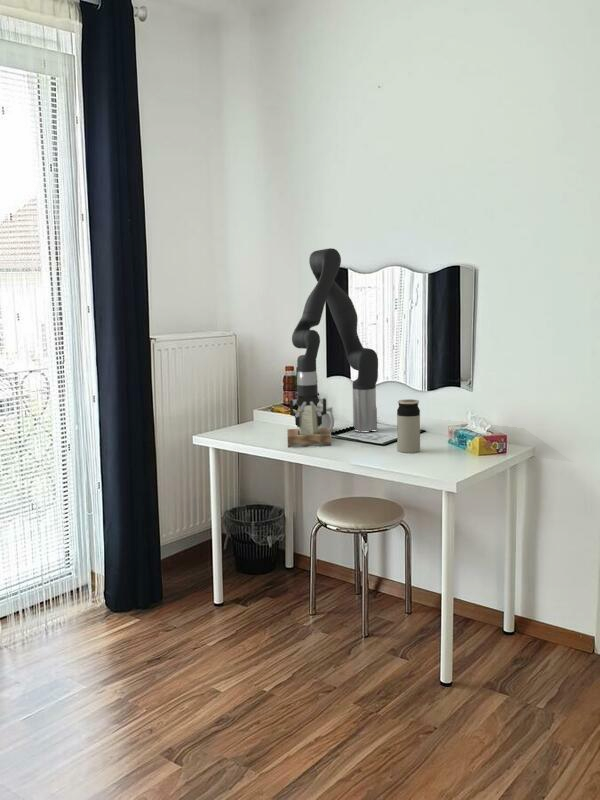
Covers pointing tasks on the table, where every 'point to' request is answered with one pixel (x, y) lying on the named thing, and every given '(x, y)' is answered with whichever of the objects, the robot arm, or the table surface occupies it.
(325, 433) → the socket board
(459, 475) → the table surface
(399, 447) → the travel mug
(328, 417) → the mug
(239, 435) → the table surface
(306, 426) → the skincare box
